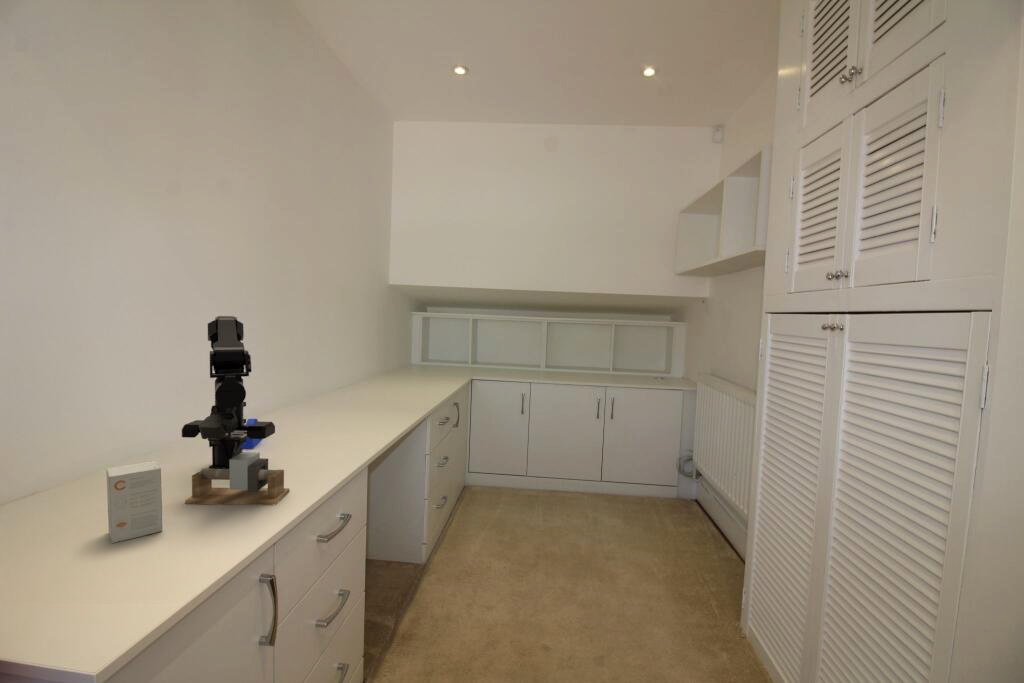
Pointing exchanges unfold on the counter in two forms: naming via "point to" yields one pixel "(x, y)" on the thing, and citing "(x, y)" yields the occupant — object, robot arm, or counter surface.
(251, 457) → the sleeve
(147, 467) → the small box
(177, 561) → the counter surface
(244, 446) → the bracket
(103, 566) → the counter surface
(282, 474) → the wooden rail stand
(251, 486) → the collar
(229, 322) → the robot arm
